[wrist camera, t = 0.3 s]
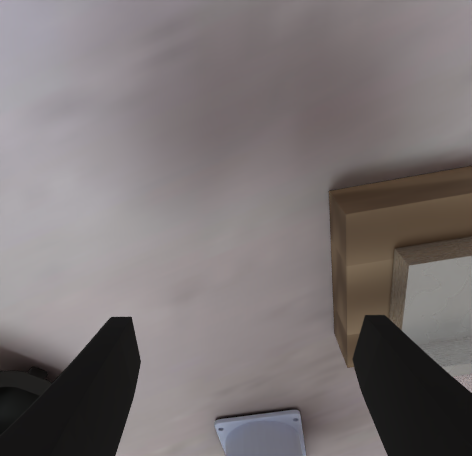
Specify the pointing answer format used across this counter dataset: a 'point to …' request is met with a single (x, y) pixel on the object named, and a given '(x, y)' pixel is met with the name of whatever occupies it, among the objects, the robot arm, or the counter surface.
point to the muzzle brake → (19, 393)
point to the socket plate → (388, 239)
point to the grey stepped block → (436, 300)
